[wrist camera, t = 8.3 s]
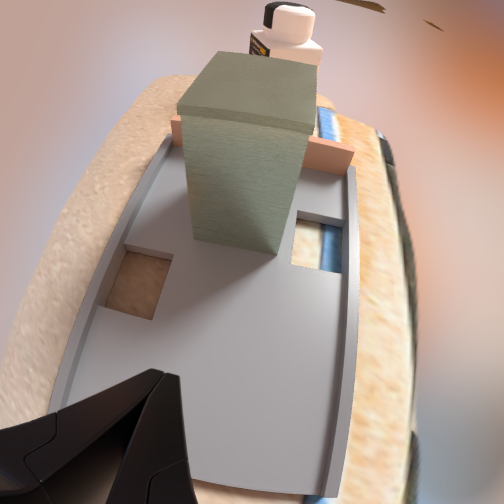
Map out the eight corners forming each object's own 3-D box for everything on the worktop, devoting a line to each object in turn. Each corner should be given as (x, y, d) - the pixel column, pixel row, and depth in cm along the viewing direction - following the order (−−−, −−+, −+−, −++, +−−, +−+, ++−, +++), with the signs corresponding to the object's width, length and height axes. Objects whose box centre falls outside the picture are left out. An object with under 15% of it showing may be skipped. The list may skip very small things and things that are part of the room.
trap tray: (327, 492, 14) (351, 505, 11) (58, 426, 15) (25, 421, 11) (349, 180, 28) (362, 148, 25) (169, 147, 28) (165, 114, 25)
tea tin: (278, 257, 22) (314, 125, 12) (191, 240, 22) (176, 104, 13) (289, 184, 26) (316, 65, 16) (216, 171, 26) (218, 51, 16)
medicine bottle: (246, 74, 38) (253, -3, 28) (292, 72, 40) (305, 1, 30) (263, 97, 35) (273, 9, 25) (313, 95, 37) (331, 14, 26)
